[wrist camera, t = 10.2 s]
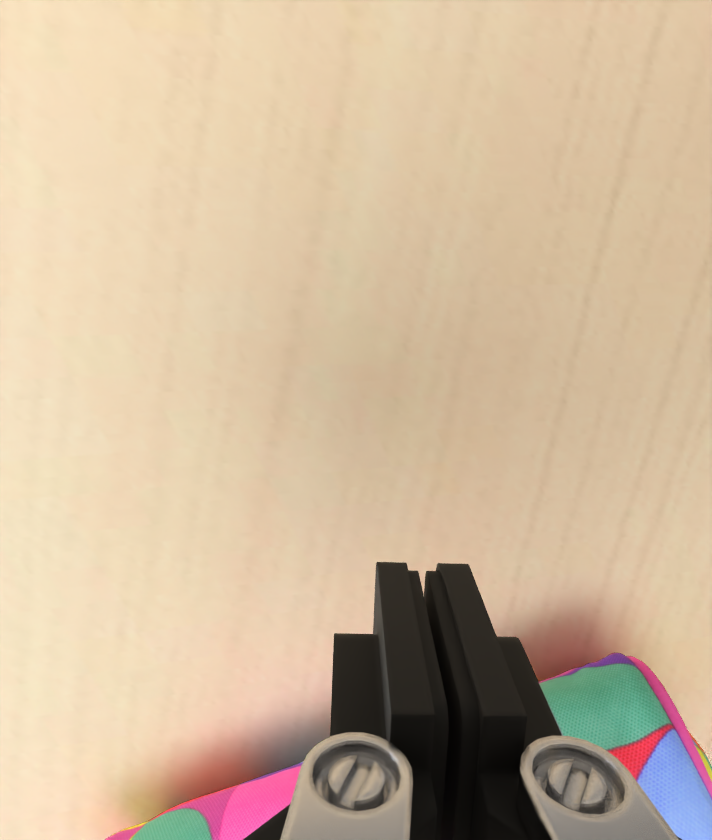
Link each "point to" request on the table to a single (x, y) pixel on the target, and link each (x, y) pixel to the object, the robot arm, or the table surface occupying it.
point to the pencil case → (575, 716)
